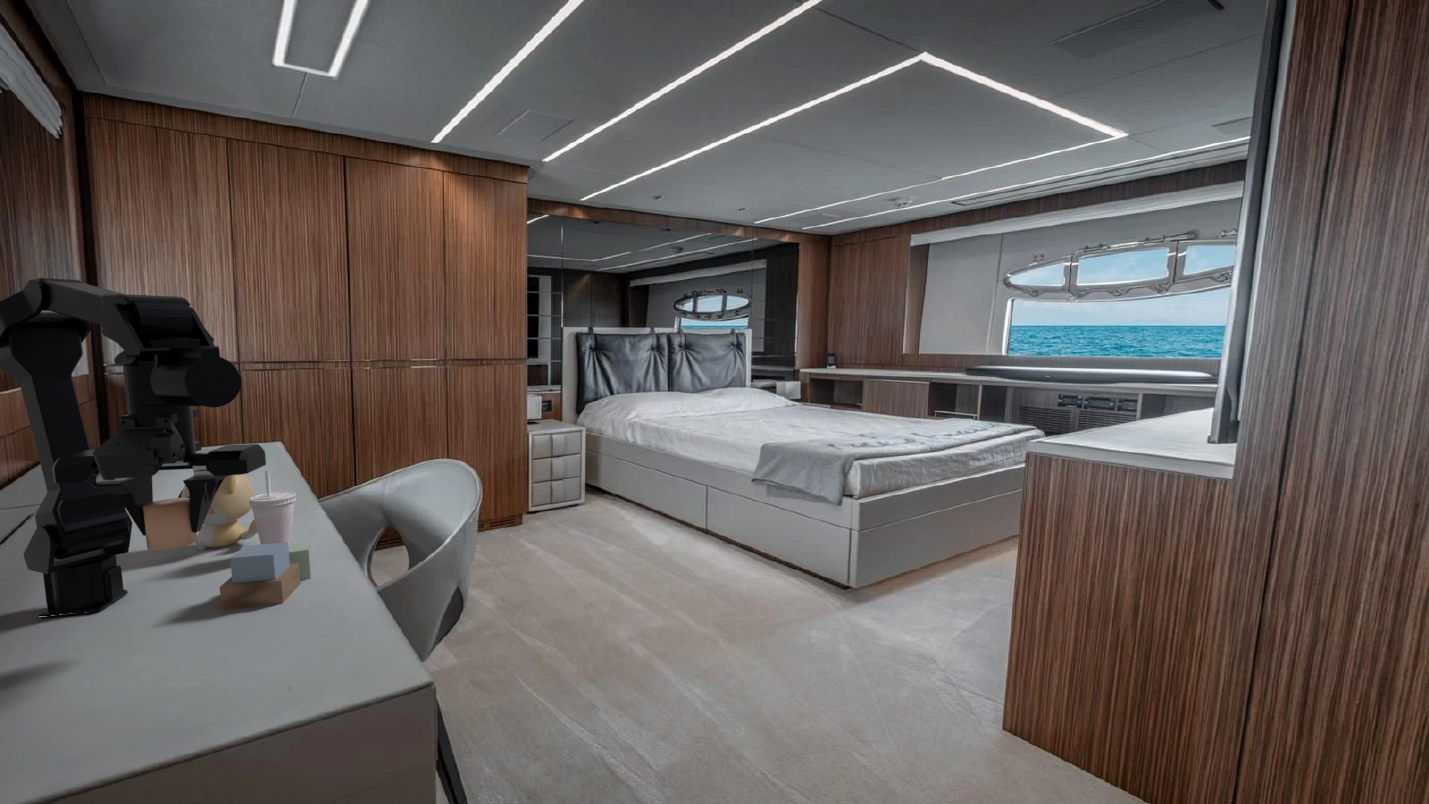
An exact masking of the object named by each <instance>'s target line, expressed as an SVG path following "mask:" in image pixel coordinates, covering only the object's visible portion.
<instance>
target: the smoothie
mask: <svg viewBox="0 0 1429 804" xmlns="http://www.w3.org/2000/svg"><path fill="white" fill-rule="evenodd" d="M264 476H265V488H266V492H265V493H260V494H256V495H254V496H253V497H251V498H250V499H249V506H252V508H251V511H252V514H253V517H254V518H253V519H255V522H256V527H257V531H258V533H257V535H258V538H259V539H258V540H259V542H260V544H273V543H286V542H288V544H292V536H293V522H294V521H293V520H294V508H295V507H294V505H295V501H297V497H296V496H297V494H296V493H295V492H293V491H272V490H271V480H270V479H271V478H270V477H271V475H270V470H265V471H264Z"/></svg>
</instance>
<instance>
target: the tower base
mask: <svg viewBox="0 0 1429 804" xmlns="http://www.w3.org/2000/svg"><path fill="white" fill-rule="evenodd" d="M299 586H301V580H300V570H299V563H290V567H288V568H287V569H286V570H285V571H284V572H283V573H282V574H281V575H280V576H279V577H278V578H277V579H275V580H263V581H252V582H241V583H232V576H231V577H229V579H227V580H226V581H225V582H224V583H223V584H222V585H220V586H219V593H220V595H219V596H220V603H221V605H220V606H221V611H224V610H235V609H244V608H251V607H252V608H253V607H262V606H263V607H264V606H270V605H271V606H272V605H280V604H281V605H282V604H284V603H285V602H286V601H287V599H289V598H290V597H291V595H292V594H293V593H294V592H295V590H296V589H298V587H299Z"/></svg>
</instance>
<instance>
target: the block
mask: <svg viewBox="0 0 1429 804" xmlns="http://www.w3.org/2000/svg"><path fill="white" fill-rule="evenodd" d="M310 546H311V545H310V540H307V541H301V542H293V543H292V542H291V544H288V548H289V560H290V563H299V570H300V581H303V580H308V579H311V578H312V577H311V576H312V561H311V560H312V559H311V549H310V548H311V547H310Z"/></svg>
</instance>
